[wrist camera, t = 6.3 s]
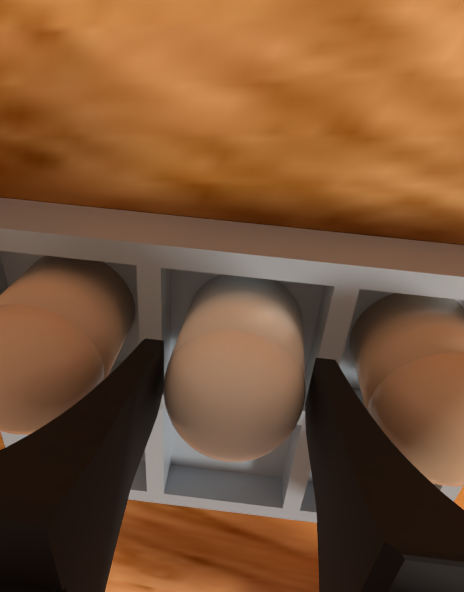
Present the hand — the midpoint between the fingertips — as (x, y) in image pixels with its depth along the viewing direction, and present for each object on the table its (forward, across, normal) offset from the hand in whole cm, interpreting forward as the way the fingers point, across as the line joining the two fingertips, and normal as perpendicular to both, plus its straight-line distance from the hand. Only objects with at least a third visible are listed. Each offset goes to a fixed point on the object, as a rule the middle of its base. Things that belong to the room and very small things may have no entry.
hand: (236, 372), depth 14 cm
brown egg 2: (+3, -6, 0) cm, 7 cm away
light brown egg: (+3, 0, 0) cm, 3 cm away
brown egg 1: (+3, +6, 0) cm, 7 cm away
